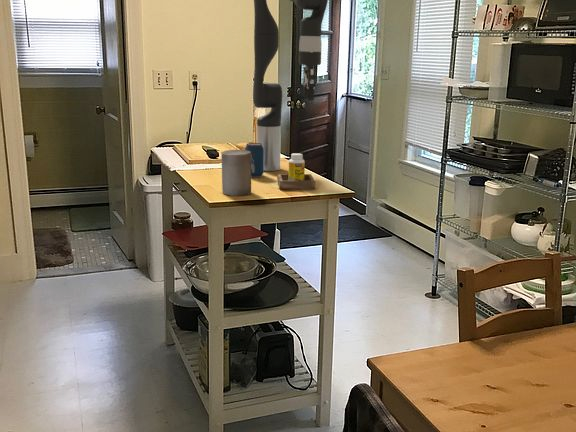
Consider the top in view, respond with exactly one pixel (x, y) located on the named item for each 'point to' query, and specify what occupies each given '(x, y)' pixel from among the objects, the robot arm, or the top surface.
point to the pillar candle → (236, 172)
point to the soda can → (256, 159)
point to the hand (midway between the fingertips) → (308, 99)
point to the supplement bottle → (296, 167)
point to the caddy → (296, 183)
